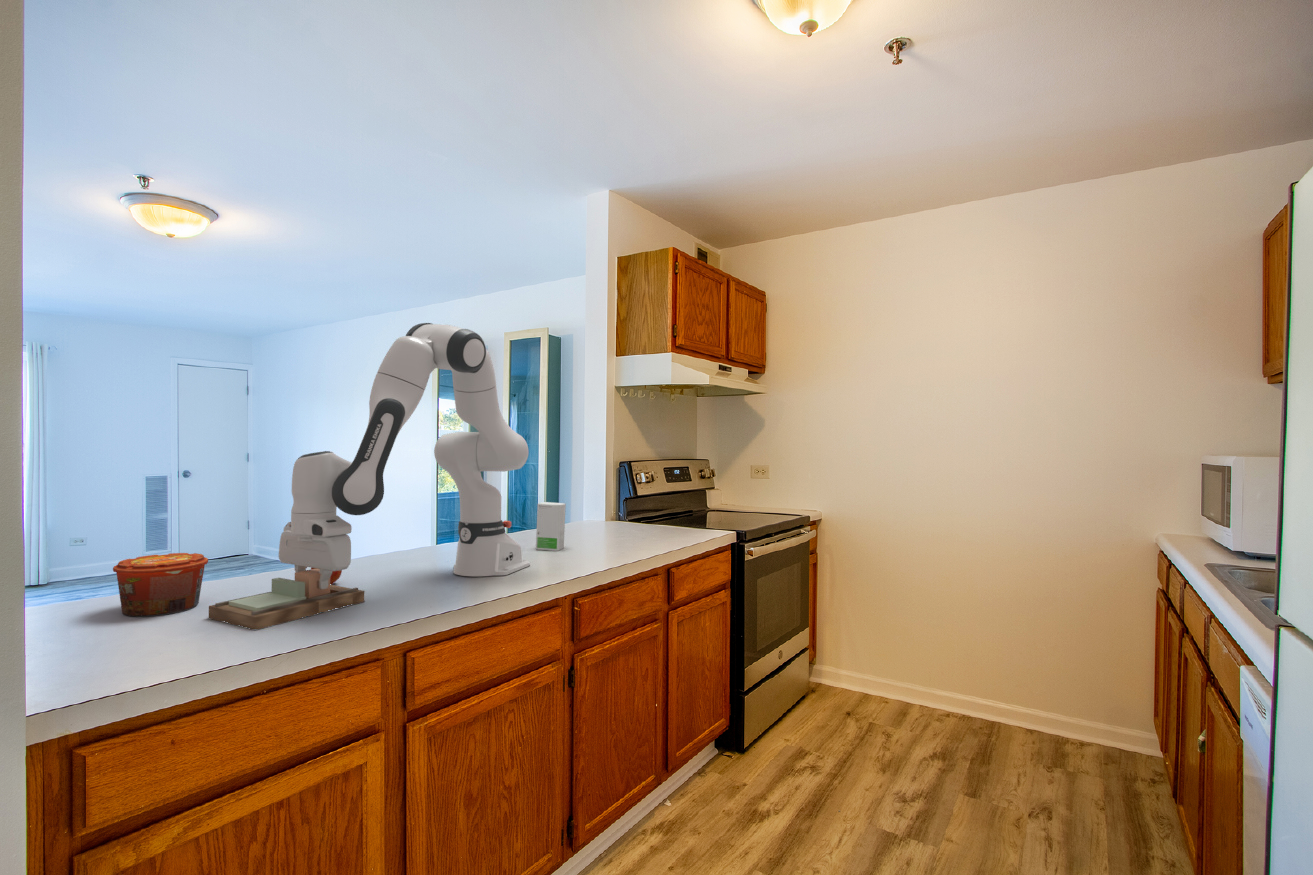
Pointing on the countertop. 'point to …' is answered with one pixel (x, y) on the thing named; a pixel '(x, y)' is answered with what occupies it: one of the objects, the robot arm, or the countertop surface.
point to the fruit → (334, 576)
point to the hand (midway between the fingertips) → (313, 586)
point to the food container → (160, 583)
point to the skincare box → (550, 526)
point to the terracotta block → (311, 582)
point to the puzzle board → (285, 608)
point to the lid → (274, 595)
